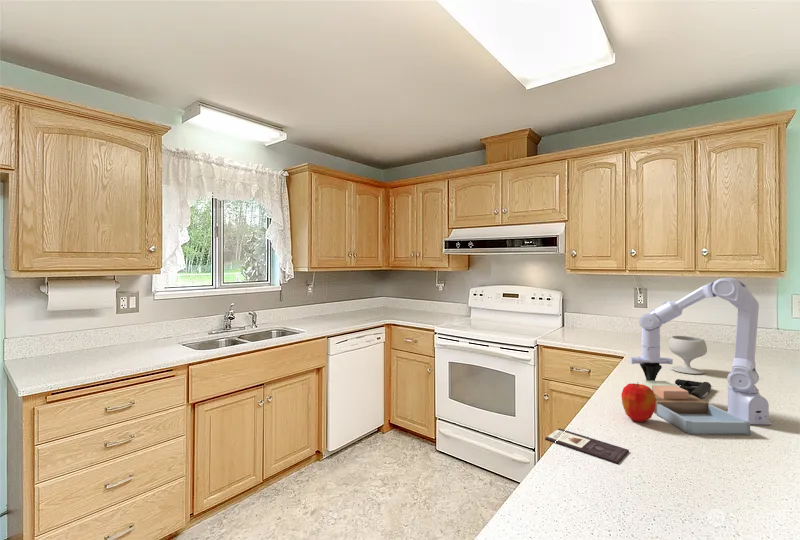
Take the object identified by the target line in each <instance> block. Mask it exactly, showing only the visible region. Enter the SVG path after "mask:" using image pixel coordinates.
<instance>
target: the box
mask: <svg viewBox="0 0 800 540" xmlns="http://www.w3.org/2000/svg"><path fill="white" fill-rule="evenodd" d="M726 411H727V410H723V409H722V408H720V407H717V406H715V405H714V404H713V405H712V404H709V405H708V414H677V413H675V412H673V411H671V410H670V409H668V408H666V407H664V406H662V405H661V404H657V414H656V416H658V417H660V418H661V419H663V420H664V421H665V422H667V423H669V424H670V425H672V426H674V427H676V428H677V429H679V430H680V431H682V432H684V433H686V434H687V435H704V436H705V435H709V436H711V435H714V436H718V435H719V436H721V435H722V436H751V424H750V422H748V421H745V420H743V419H741V418H739V417H737V416H735V415H732V414H730V413H728V412H726Z"/></svg>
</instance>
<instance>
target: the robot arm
mask: <svg viewBox="0 0 800 540" xmlns="http://www.w3.org/2000/svg"><path fill="white" fill-rule="evenodd" d="M715 297H716V298H717V297H718V298H720V299H723V300H725V301H727V302H729V303H730V304H731V305H733V306H734V307H735V308H736V309H737V314H736V315H737V318H736V319H737V320H736V329H735V332H736V333H735V341H734V342H735V344H734V355H733V357H734V358H733V360H732V361H733V362H732V366H731V370H730V372H729V373H728V374H727V377H726V379H727V383H728V385H727V410H725V411H726V412H728V413H730V414H732V415H735V416H737V417H739V418H741V419H743V420H745V421H748V422H750V425H768V426H769V425H772V422H770V421H769V413H770V412H769V410H770V409H769V407H770V406H769V402H768V400H767V399H766V398H765V397H764V396H762V395H761V394H760V390H759V388H757V386H756V384H757V383H758V382H759V380H760V379H759V374H758V372H757V370H756V357H755V356H756V348H757V335H758V322H759V310H760V309H759V308H760V304H759V302H758V300H757V298H755V296H754V294H753V293H752V292H751V291H750V290H749V287H748V286H747V285H746V284H745V283H744V282H742V281H741V280H739V279H738V278H734V277H723V278H719V279H717V280H715V281H711V282H709V283H706V284H705V285H702V286H700V287H699V288H697V289H696V290H693V291H692V292H690V293H689V294H687V295H685V296H684V297H682V298H680V299H678V300H677V301H672V300H669V301H666V300H665V301H663V302H661V305H660V306H658V307H656V308H654V309H653V308H652V309H650V310H649V313H643V314H642V315H641V316H640V317H639V319H638V322H639V325H640V326H641V335H640V336H641V337H640V339H641V342H640V344H641V345H640V347H641V348H640V351H641V354H640V356H632V357H628V363H629V364H630V365H635V364H637V365H638V364H639V366H640V368H641V369H642V371H643V373H644V376H645V381H656V379H657V376H658V374H659V372H660V371H661V370H662V368H663V367H662V365H665V364H666V365H673V361H674V359H673V358H671V357H662V356H661V329H660V328H661V327H662V325H665V324H667V323H669V322H671V321H672V320H674V319H675V318H678V317H680V316H681V315H682V313H683V310H684V309H687V308H688V307H690V306H692V305H694V304H696V303H698V302H700V301H702V300H704V299H706V298H715ZM661 364H662V365H661Z"/></svg>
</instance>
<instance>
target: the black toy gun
mask: <svg viewBox="0 0 800 540" xmlns="http://www.w3.org/2000/svg"><path fill="white" fill-rule="evenodd" d="M674 383H675V384H674V385H676V384H677V385H676V386H679V387H680V388H682V389H684V390H687V391H688V393H689V394H691V395H693V396H695V397H697V398H700V399H702V398H701V397H704V398H705V397H706V396H707V395H708V394H709V391H710V390H712V387H714V386H712V385H711V383H710V382H708V381H694V380H688V379H687V380H686V379H680V378H678V379H676V380H675V381H674ZM680 385H681V386H680Z"/></svg>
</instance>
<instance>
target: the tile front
mask: <svg viewBox="0 0 800 540" xmlns="http://www.w3.org/2000/svg"><path fill="white" fill-rule="evenodd" d="M653 392H654V394H656V395H657V396H659V397H661V398H663V399H688V391H687V390H684V389H682V388H680V386H679V385H676V386H653Z"/></svg>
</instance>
